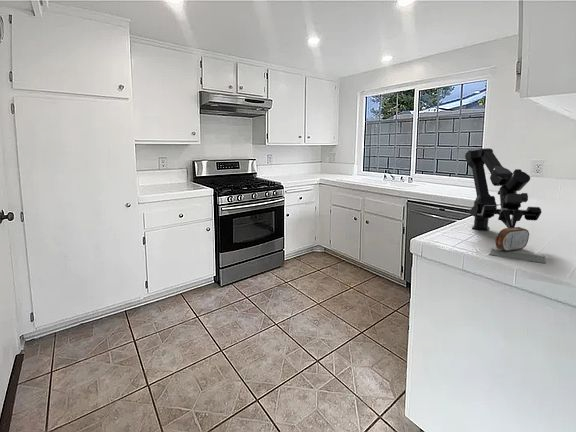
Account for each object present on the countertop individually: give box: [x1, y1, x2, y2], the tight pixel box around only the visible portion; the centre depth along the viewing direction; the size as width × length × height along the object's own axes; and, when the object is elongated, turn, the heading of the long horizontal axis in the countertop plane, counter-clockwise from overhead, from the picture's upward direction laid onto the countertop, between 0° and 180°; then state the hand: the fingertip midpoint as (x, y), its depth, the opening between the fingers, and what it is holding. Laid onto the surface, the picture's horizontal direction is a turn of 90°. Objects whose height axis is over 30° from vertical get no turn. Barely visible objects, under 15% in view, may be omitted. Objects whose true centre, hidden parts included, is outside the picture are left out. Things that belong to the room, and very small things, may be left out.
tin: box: [495, 226, 530, 252], centre depth 121 cm, size 15×3×8 cm, turn 111°
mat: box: [489, 248, 546, 264], centre depth 115 cm, size 8×16×1 cm, turn 52°
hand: (512, 230), depth 123 cm, fingers closed
